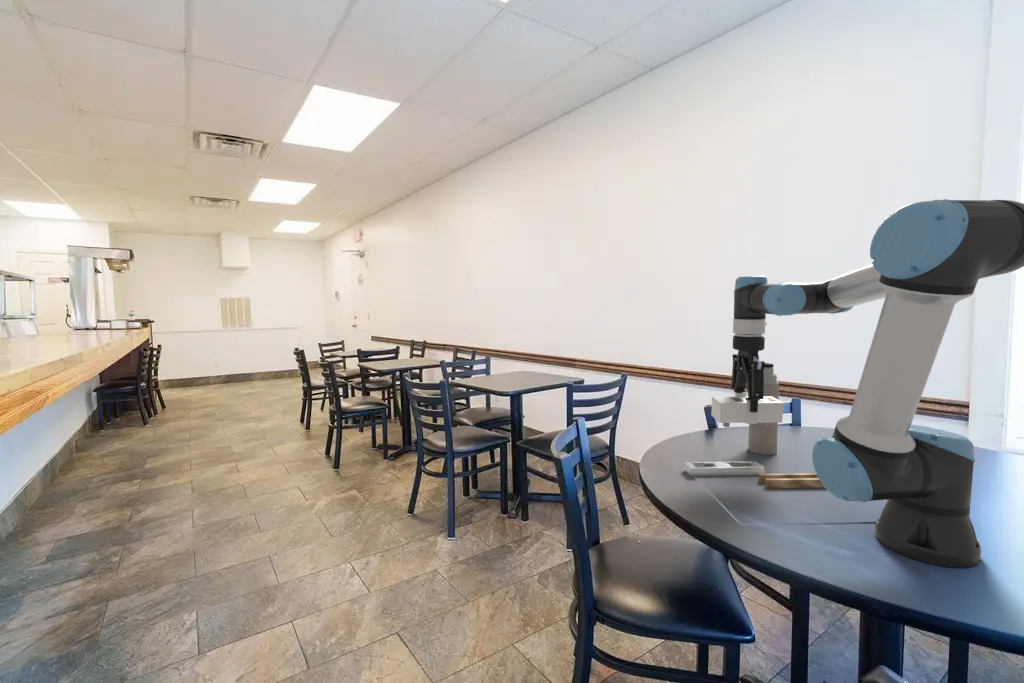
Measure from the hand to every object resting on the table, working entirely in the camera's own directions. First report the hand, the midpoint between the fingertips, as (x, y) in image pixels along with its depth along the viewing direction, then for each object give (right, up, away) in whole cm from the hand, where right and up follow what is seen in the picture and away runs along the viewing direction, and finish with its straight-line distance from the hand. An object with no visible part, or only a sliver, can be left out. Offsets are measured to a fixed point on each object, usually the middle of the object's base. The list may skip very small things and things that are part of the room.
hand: (745, 419), depth 123 cm
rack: (+10, -16, -5) cm, 20 cm away
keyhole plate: (-4, -16, +4) cm, 17 cm away
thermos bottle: (+16, -14, +21) cm, 30 cm away
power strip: (0, -2, 0) cm, 2 cm away
